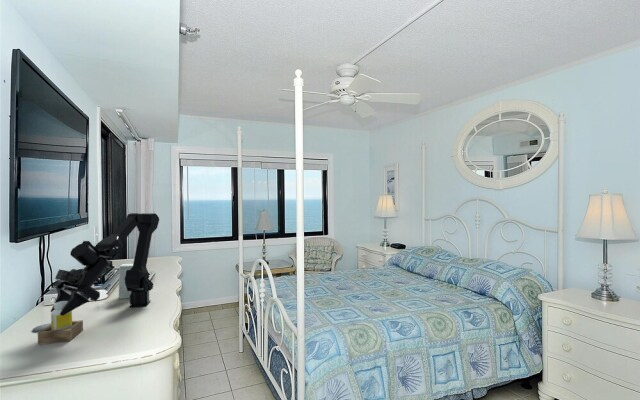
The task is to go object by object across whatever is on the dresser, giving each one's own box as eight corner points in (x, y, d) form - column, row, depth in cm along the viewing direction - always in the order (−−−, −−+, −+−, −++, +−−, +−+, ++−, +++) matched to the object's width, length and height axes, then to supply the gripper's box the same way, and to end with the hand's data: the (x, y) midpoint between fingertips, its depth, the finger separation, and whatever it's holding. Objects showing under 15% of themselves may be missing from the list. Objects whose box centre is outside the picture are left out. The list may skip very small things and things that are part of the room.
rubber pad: (62, 323, 121) (62, 322, 121) (51, 331, 114) (51, 329, 114) (40, 325, 119) (40, 324, 119) (27, 333, 113) (27, 331, 113)
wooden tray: (83, 330, 114) (82, 320, 114) (70, 341, 106) (69, 330, 106) (53, 332, 112) (53, 322, 112) (37, 344, 104) (37, 333, 104)
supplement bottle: (76, 329, 112) (75, 300, 112) (62, 336, 106) (61, 305, 106) (61, 328, 112) (60, 299, 112) (47, 335, 107) (46, 305, 107)
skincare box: (118, 299, 149) (117, 266, 149) (122, 295, 155) (121, 263, 155) (139, 297, 152) (138, 265, 151) (142, 293, 157) (141, 262, 157)
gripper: (58, 257, 117) (20, 297, 107) (89, 261, 108) (50, 305, 98) (83, 274, 124) (49, 313, 114) (114, 279, 115) (80, 322, 106)
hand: (56, 313), depth 108 cm, fingers closed on supplement bottle, 5 cm apart
